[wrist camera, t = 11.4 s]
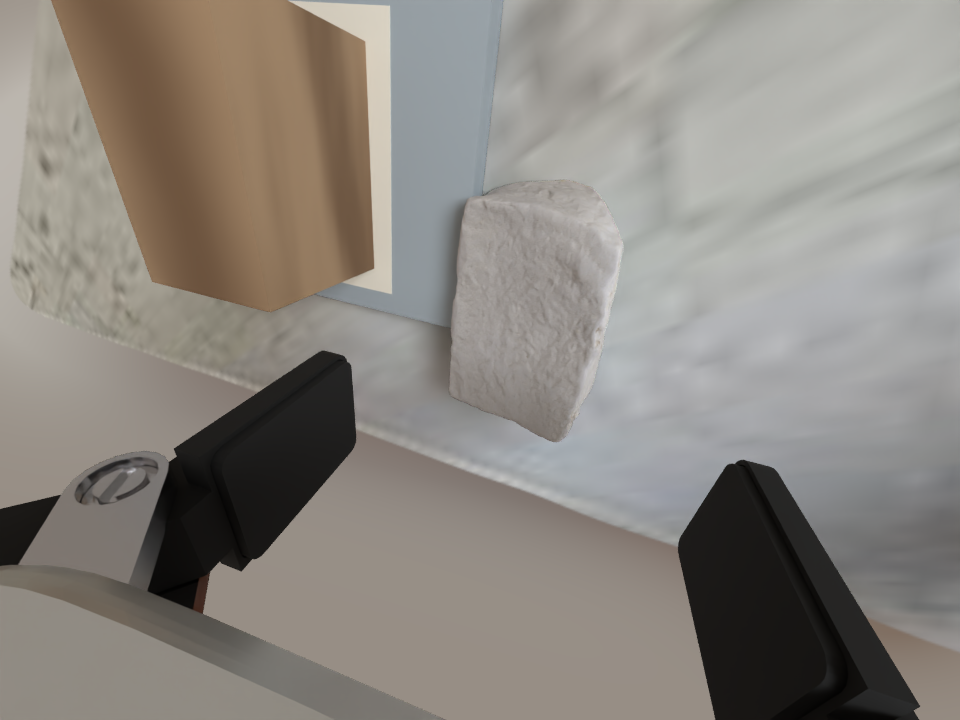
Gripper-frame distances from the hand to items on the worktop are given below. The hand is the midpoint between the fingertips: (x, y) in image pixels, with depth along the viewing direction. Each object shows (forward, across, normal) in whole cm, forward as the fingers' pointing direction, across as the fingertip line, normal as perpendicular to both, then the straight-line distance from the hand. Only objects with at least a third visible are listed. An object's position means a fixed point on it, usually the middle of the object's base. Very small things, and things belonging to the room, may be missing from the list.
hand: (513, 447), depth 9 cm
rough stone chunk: (+9, +1, -1) cm, 9 cm away
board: (+9, +11, -5) cm, 15 cm away
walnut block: (+8, +11, -5) cm, 14 cm away
